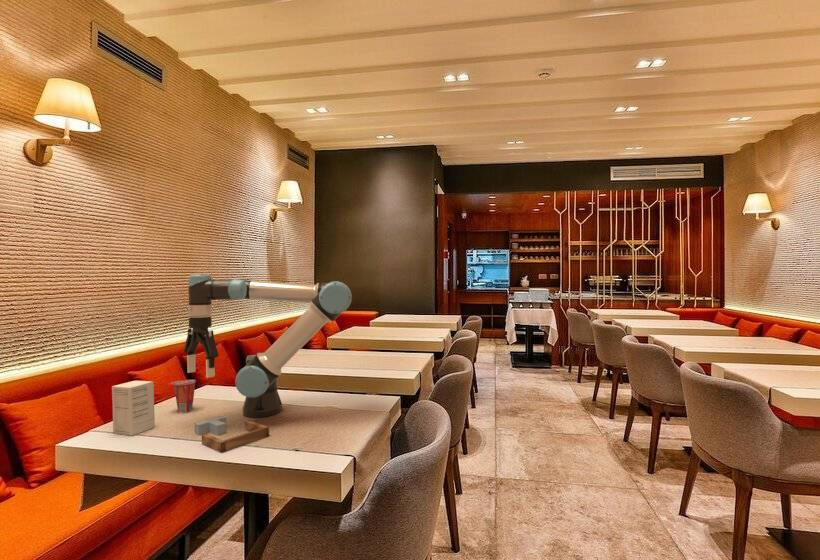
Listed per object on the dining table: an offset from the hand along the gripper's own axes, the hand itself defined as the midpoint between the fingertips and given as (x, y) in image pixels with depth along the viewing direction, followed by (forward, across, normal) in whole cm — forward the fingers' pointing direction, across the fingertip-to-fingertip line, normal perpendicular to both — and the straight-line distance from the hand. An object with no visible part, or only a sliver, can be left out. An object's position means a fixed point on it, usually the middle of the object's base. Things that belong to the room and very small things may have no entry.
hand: (200, 374), depth 155 cm
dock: (+19, +23, 0) cm, 29 cm away
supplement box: (+19, -16, -16) cm, 30 cm away
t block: (+19, +10, 0) cm, 21 cm away
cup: (+19, -24, +5) cm, 31 cm away
